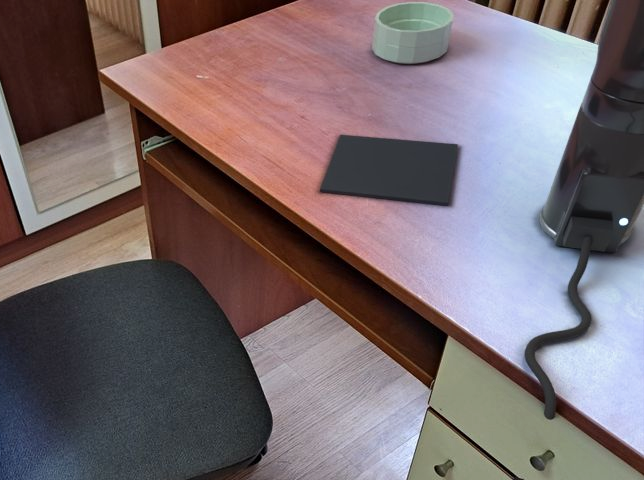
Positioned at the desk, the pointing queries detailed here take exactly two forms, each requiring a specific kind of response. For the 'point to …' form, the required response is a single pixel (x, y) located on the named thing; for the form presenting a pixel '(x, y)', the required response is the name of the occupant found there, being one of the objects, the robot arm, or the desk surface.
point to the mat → (391, 169)
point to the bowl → (412, 32)
